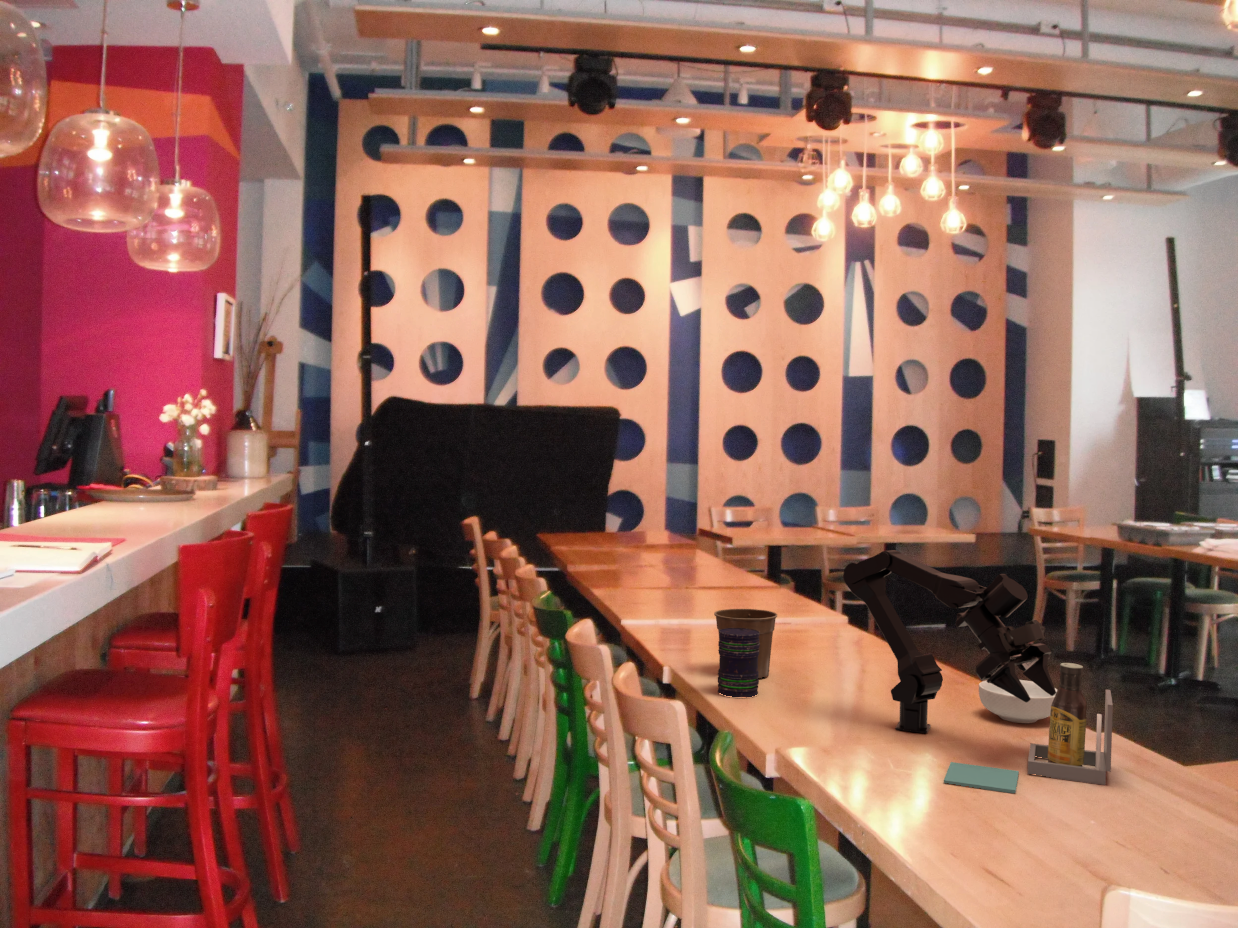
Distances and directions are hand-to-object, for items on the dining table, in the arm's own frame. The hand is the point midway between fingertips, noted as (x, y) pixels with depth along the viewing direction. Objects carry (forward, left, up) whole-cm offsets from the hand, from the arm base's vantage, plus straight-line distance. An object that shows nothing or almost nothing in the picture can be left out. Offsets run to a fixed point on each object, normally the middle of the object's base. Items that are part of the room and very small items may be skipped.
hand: (1041, 697), depth 200 cm
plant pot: (-47, -72, -13) cm, 87 cm away
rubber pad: (+15, -9, -12) cm, 22 cm away
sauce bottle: (+2, +5, -13) cm, 14 cm away
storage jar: (-26, -68, -13) cm, 74 cm away
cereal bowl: (-34, -5, -13) cm, 36 cm away
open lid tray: (+2, +5, -12) cm, 14 cm away
